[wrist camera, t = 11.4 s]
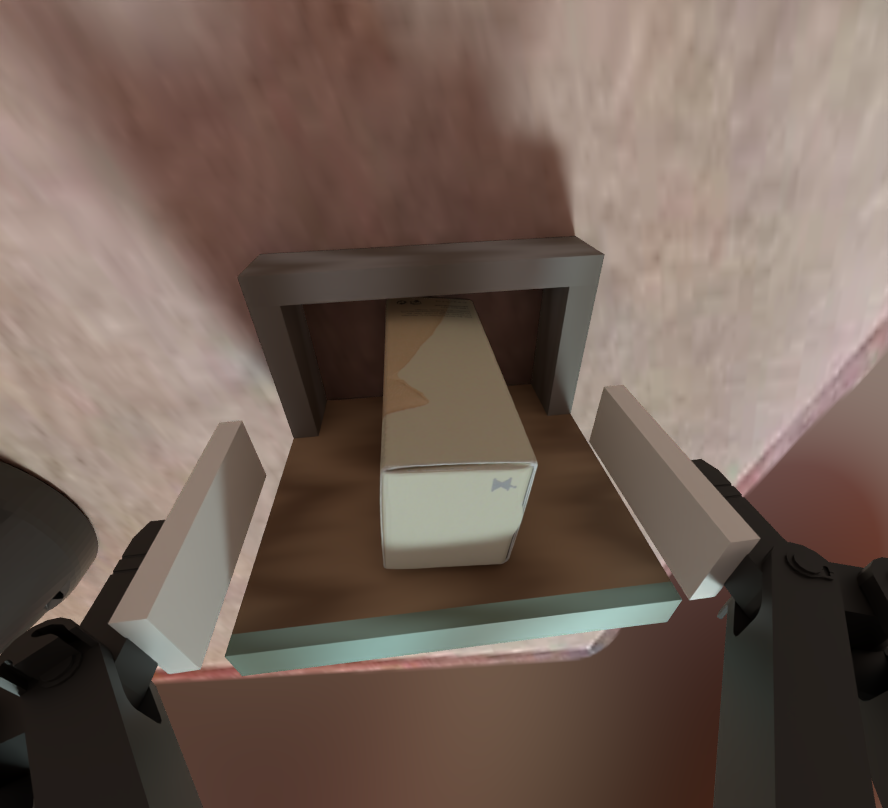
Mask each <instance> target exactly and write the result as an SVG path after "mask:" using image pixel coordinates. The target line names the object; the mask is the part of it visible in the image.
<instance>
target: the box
mask: <svg viewBox="0 0 888 808" xmlns="http://www.w3.org/2000/svg"><path fill="white" fill-rule="evenodd" d="M537 466H538V464H537V460H536V457H535V454H534V452H533V449H532V447H531V445H530V442H529V440H528V437H527V435H526V433H525V430H524V427H523V425H522V422H521V420H520V417H519V415H518V412H517V410H516V408H515V405H514V402H513V400H512V397H511V395H510V393H509V390H508V388H507V385H506V383H505V380H504V378H503V375H502V373H501V371H500V368H499V366H498V363H497V361H496V358H495V356H494V353H493V351H492V348H491V346H490V343H489V341H488V339H487V337H486V334H485V332H484V329H483V327H482V324H481V322H480V319H479V317H478V314H477V312H476V310H475V307H474V304H473V302H472V301H471V300H463V299H446V298H391V299H387V301H386V327H385V355H384V387H383V417H382V442H381V462H380V528H381V544H382V555H383V566H384V568H386V569H419V568H435V567H453V566H472V565H490V564H503V563H505V562H506V561H508V559H509V558H510V555H511V551H512V548H513V546H514V543H515V540H516V537H517V534H518V530H519V527H520V524H521V521H522V518H523V515H524V511H525V508H526V504H527V501H528V497H529V494H530V490H531V487H532V484H533V480H534V476H535V472H536V469H537Z"/></svg>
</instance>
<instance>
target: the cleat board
mask: <svg viewBox="0 0 888 808" xmlns="http://www.w3.org/2000/svg"><path fill="white" fill-rule="evenodd" d="M603 259H604V254H603V253H601V252H600V251H598V250H596V249H595V248H593V247H592V246H590V245H589V244H587V243H585V242H584V241H582V240H581V239H579V238H578V237H576V236H570V237H553V238H535V239H518V240H500V241H483V242H466V243H448V244H431V245H413V246H396V247H378V248H361V249H344V250H326V251H309V252H291V253H274V254H260V255H259V256H258V257H257V258H256V259H255V260H254V261H253V262H252V263H251V264H250V265H249V266H248V267H247V268H246V269H245V270H244V271H243V272H242V273H241V274H240V275H239V276H238V277H237V278H238V281H239V284H240V286H241V289H242V292H243V295H244V298H245V301H246V304H247V306H248V309H249V312H250V315H251V318H252V321H253V323H254V326H255V329H256V332H257V335H258V338H259V341H260V343H261V346H262V349H263V352H264V355H265V358H266V361H267V363H268V366H269V369H270V372H271V375H272V378H273V380H274V383H275V386H276V389H277V392H278V395H279V398H280V400H281V403H282V406H283V409H284V412H285V415H286V418H287V420H288V423H289V426H290V429H291V432H292V435H293V437H294V440H293V443H292V446H291V449H290V452H289V455H288V458H287V462H286V465H285V468H284V471H283V474H282V477H281V481H280V484H279V487H278V490H277V493H276V496H275V499H274V503H273V506H272V509H271V512H270V515H269V518H268V522H267V525H266V528H265V531H264V534H263V537H262V540H261V544H260V547H259V550H258V553H257V556H256V559H255V563H254V566H253V569H252V572H251V575H250V578H249V582H248V585H247V588H246V591H245V594H244V597H243V600H242V604H241V607H240V610H239V613H238V616H237V619H236V623H235V626H234V629H233V632H232V635H231V638H230V641H229V645H228V648H227V651H226V654H225V657H226V659H227V660H228V661H229V662H230V663H231V664H232V665H233V666H234V667H235V669H236V670H237V671H238V672H239V673H240V674H241V675H242V676H247V675H254V674H262V673H270V672H278V671H286V670H294V669H301V668H309V667H317V666H325V665H333V664H340V663H348V662H356V661H364V660H372V659H380V658H387V657H395V656H403V655H411V654H419V653H426V652H434V651H442V650H450V649H458V648H465V647H473V646H481V645H489V644H497V643H505V642H512V641H520V640H528V639H536V638H544V637H551V636H559V635H567V634H575V633H583V632H591V631H598V630H606V629H614V628H622V627H629V626H637V625H644V624H653V623H661V622H667V621H668V619H669V618H670V617H671V615H672V614H673V612H674V611H675V609H676V608H677V606H678V605H679V603H680V602H681V601H682V599H681V597H680V595H679V594H678V592H677V590H676V589H675V587H674V586H673V584H672V582H671V581H670V579H669V577H668V576H667V574H666V572H665V571H664V569H663V567H662V566H661V564H660V562H659V561H658V559H657V557H656V556H655V554H654V552H653V551H652V549H651V547H650V546H649V544H648V542H647V541H646V539H645V537H644V536H643V534H642V532H641V531H640V529H639V527H638V526H637V524H636V522H635V521H634V519H633V517H632V516H631V514H630V512H629V511H628V509H627V507H626V506H625V504H624V502H623V501H622V499H621V497H620V496H619V494H618V492H617V491H616V489H615V487H614V486H613V484H612V482H611V481H610V479H609V477H608V476H607V474H606V472H605V471H604V469H603V467H602V466H601V464H600V462H599V461H598V459H597V457H596V456H595V454H594V452H593V451H592V449H591V447H590V446H589V444H588V442H587V441H586V439H585V437H584V436H583V434H582V432H581V431H580V429H579V427H578V426H577V424H576V422H575V421H574V419H573V417H572V416H571V414H570V413H571V409H572V404H573V399H574V395H575V390H576V385H577V381H578V376H579V371H580V367H581V362H582V357H583V352H584V348H585V343H586V338H587V334H588V329H589V324H590V320H591V315H592V310H593V306H594V301H595V296H596V292H597V287H598V282H599V278H600V273H601V268H602V263H603ZM541 288H543V295H542V302H541V310H540V318H539V326H538V334H537V341H536V349H535V357H534V365H533V373H532V380H531V384H523V385H511V386H507V388H508V390H509V393H510V395H511V397H512V400H513V402H514V405H515V408H516V410H517V412H518V415H519V417H520V420H521V422H522V425H523V427H524V430H525V433H526V435H527V437H528V440H529V442H530V445H531V447H532V449H533V452H534V454H535V457H536V460H537V464H538V466H537V469H536V472H535V476H534V480H533V484H532V487H531V490H530V494H529V497H528V501H527V504H526V508H525V511H524V515H523V518H522V521H521V524H520V527H519V530H518V534H517V537H516V540H515V543H514V546H513V548H512V551H511V555H510V558H509V559H508V561H506V562H505V563H503V564H490V565H472V566H453V567H435V568H419V569H386V568H384V566H383V555H382V544H381V528H380V462H381V442H382V417H383V396H379V397H367V398H355V399H343V400H331V401H327V398H326V395H325V391H324V387H323V383H322V379H321V375H320V372H319V368H318V364H317V360H316V356H315V352H314V349H313V345H312V341H311V337H310V333H309V329H308V326H307V322H306V318H305V314H304V310H303V306H302V304H315V303H330V302H345V301H361V300H376V299H391V298H406V297H421V296H436V295H451V294H466V293H481V292H496V291H511V290H526V289H541Z"/></svg>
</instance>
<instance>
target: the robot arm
mask: <svg viewBox="0 0 888 808" xmlns="http://www.w3.org/2000/svg"><path fill="white" fill-rule="evenodd" d="M589 442H590V443H591V445H592V446H593V448H594V450H595V451H596V453H597V454H598V456H599V458H600V459H601V461H602V462H603V464H604V465H605V467H606V469H607V470H608V472H609V473H610V475H611V477H612V478H613V480H614V481H615V483H616V485H617V486H618V488H619V489H620V491H621V492H622V494H623V496H624V497H625V499H626V500H627V502H628V504H629V505H630V507H631V508H632V510H633V512H634V513H635V515H636V516H637V518H638V519H639V521H640V523H641V524H642V526H643V527H644V529H645V531H646V532H647V534H648V535H649V537H650V539H651V540H652V542H653V543H654V545H655V546H656V548H657V550H658V551H659V553H660V554H661V556H662V558H663V559H664V561H665V562H666V564H667V566H668V567H669V569H670V570H671V572H672V573H673V575H674V577H675V578H676V580H677V581H678V583H679V585H680V586H681V588H682V589H683V591H684V593H685V594H686V596H687V597H688V599H689V600H694V599H701V598H708V597H715V596H716V595H717V593H718V592H719V591H720V590H721V588H722V587H723V586H725V587H726V588H727V590H728V591H729V592H730V594H731V595H732V596H731V598H730V599H729V600H728V601H727V602H726V604H725V605H724V606H723V607H722V608H721V610H720V611H719V613H718V616H717V617H718V618H720V619H722V618H723V617H724V616H725V615H726V613H727V627H726V640H725V654H724V668H723V681H722V695H721V708H720V723H719V736H718V749H717V763H716V777H715V791H714V805H713V808H876V806H875V799H874V794H873V788H872V781H873V784H874V787H875V789H876V792H877V794H878V797H879V800H880V802H881V805H882V807H883V808H888V558H883V557H881V558H878V559H875V560H873V561H872V562H871V563H869V564H868V565H867V566H866V567H865V568H861V567H855V566H848V565H843V564H837V563H831V562H828V561H827V560H826V559H824V558H823V557H822V556H820V555H819V554H818V553H816V552H815V551H813V550H811V549H808V548H807V547H805V546H803V545H799V544H795V543H791V542H787V541H786V540H785V539H783V538H782V537H781V536H780V535H779V533H778V532H777V531H776V530H775V529H774V528H773V527H772V526H771V525H770V524H769V523H768V522H767V521H766V520H765V519H764V518H763V517H762V515H761V514H759V512H758V511H757V510H756V509H755V508H754V507H753V506H752V505H751V504H750V503H749V502H748V501H747V500H746V499H745V498H744V497H742V494H741V493H740V492H739V491H738V490H737V489H736V488H735V487H734V486H731V483H730V482H729V481H728V480H727V478H726V477H725V476H724V475H723V474H722V473H721V472H720V471H719V470H718V469H716V468H714V467H713V466H711V465H710V464H708V463H707V462H705V461H704V460H702V459H698V460H690V459H689V458H688V457H687V456H686V454H685V453H684V452H683V451H682V450H681V449H680V448H679V447H678V445H677V444H676V443H675V442H674V441H673V440H672V439H671V438H670V437H669V435H668V434H667V433H666V432H665V431H664V430H663V429H662V428H661V426H660V425H659V424H658V423H657V422H656V421H655V420H654V419H653V417H652V416H651V415H650V414H649V413H648V412H647V411H646V410H645V409H644V407H643V406H642V405H641V404H640V403H639V402H638V401H637V400H636V398H635V397H634V396H633V395H632V394H631V393H630V392H629V391H628V389H627V388H626V387H625V386H624V385H618V386H607V387H604V389H603V392H602V396H601V400H600V403H599V407H598V411H597V415H596V418H595V422H594V426H593V430H592V433H591V437H590V441H589ZM265 478H266V473H265V471H264V469H263V467H262V464H261V462H260V460H259V458H258V455H257V453H256V451H255V449H254V446H253V444H252V442H251V440H250V437H249V435H248V433H247V431H246V428H245V426H244V424H243V422H242V421H234V422H224V423H219V424H218V426H217V428H216V430H215V432H214V433H213V435H212V437H211V439H210V441H209V442H208V444H207V446H206V448H205V450H204V451H203V453H202V455H201V457H200V459H199V460H198V462H197V464H196V466H195V468H194V469H193V471H192V473H191V475H190V477H189V478H188V480H187V482H186V484H185V486H184V487H183V489H182V491H181V493H180V495H179V496H178V498H177V500H176V502H175V504H174V506H173V507H172V509H171V511H170V513H169V515H168V516H167V518H166V520H159V521H150V522H149V523H148V524H147V525H146V526H145V527H144V528H143V529H142V530H141V531H140V532H139V533H138V534H137V535H136V536H135V537H134V538H133V539H132V541H131V542H130V544H129V546H128V547H127V549H126V550H125V552H124V554H123V555H122V560H119V562H118V564H117V565H116V567H115V569H114V570H113V575H110V577H109V578H108V580H107V582H106V583H105V585H104V587H103V588H102V590H101V592H100V593H99V595H98V597H97V598H96V600H95V601H94V603H93V605H92V606H91V608H90V610H89V611H88V613H87V615H86V616H85V618H84V620H83V621H82V623H81V624H80V626H79V625H78V624H76V623H75V622H74V621H72V620H71V619H66V618H61V617H60V618H56V619H51V620H47V621H45V622H42V623H40V624H38V625H36V626H34V627H32V626H33V625H34V624H35V623H36V622H37V621H38V620H39V619H40V618H41V617H42V616H43V615H44V614H45V613H46V612H47V611H49V610H51V609H52V608H54V607H55V606H57V605H58V604H59V603H61V602H62V601H63V600H64V599H65V598H66V597H67V596H68V595H69V594H70V593H71V592H72V591H73V590H74V589H75V587H76V586H77V585H78V583H79V582H80V580H81V579H82V577H83V576H84V574H85V573H86V571H87V570H88V569H89V567H90V566H91V564H92V563H93V561H94V560H95V558H96V555H97V551H98V541H97V537H96V533H95V531H94V529H93V527H92V526H91V524H90V522H89V521H88V520H87V518H86V517H85V516H84V515H83V513H82V512H81V511H80V510H79V509H78V508H77V507H76V506H75V505H74V504H72V503H71V502H70V501H69V500H68V499H67V498H65V497H64V496H63V495H61V494H60V493H59V492H57V491H56V490H54V489H53V488H51V487H50V486H48V485H47V484H45V483H43V482H42V481H40V480H38V479H36V478H35V477H33V476H31V475H29V474H27V473H25V472H23V471H21V470H19V469H17V468H15V467H13V466H10V465H8V464H6V463H3V462H1V461H0V654H1V653H2V652H3V653H2V654H1V655H0V808H203V806H202V803H201V801H200V798H199V796H198V793H197V791H196V788H195V786H194V783H193V780H192V778H191V775H190V773H189V770H188V767H187V765H186V762H185V760H184V757H183V754H182V752H181V749H180V747H179V744H178V742H177V739H176V737H175V734H174V731H173V729H172V726H171V724H170V721H169V718H168V716H167V713H166V711H165V708H164V706H163V703H162V701H161V698H160V695H159V693H158V690H157V688H156V686H155V685H154V683H153V682H152V681H151V680H152V677H153V675H154V673H155V670H156V668H157V666H160V667H161V668H162V669H163V670H164V671H166V672H167V673H168V674H172V673H179V672H186V671H193V670H200V669H201V666H202V663H203V660H204V657H205V654H206V651H207V648H208V646H209V643H210V640H211V637H212V634H213V631H214V628H215V625H216V622H217V619H218V616H219V613H220V610H221V607H222V604H223V601H224V598H225V596H226V593H227V590H228V587H229V584H230V581H231V578H232V575H233V572H234V569H235V566H236V563H237V560H238V557H239V554H240V551H241V548H242V546H243V543H244V540H245V537H246V534H247V531H248V528H249V525H250V522H251V519H252V516H253V513H254V510H255V507H256V504H257V501H258V498H259V495H260V493H261V490H262V487H263V484H264V481H265ZM31 627H32V628H31ZM28 629H29V630H28ZM27 630H28V631H27ZM871 779H872V780H871Z"/></svg>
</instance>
